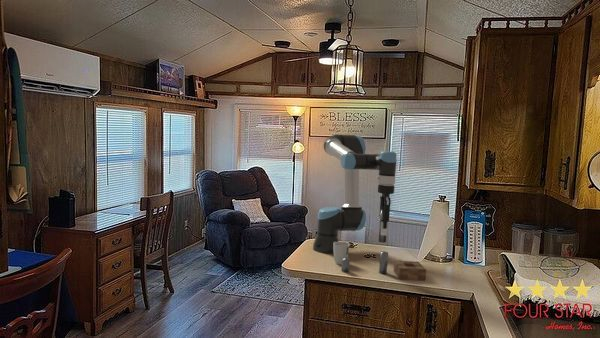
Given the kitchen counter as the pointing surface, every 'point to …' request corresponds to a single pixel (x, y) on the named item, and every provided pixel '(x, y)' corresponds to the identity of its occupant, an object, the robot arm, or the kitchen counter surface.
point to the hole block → (409, 270)
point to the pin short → (345, 264)
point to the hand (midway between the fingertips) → (383, 234)
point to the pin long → (381, 237)
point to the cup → (340, 251)
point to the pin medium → (383, 262)
